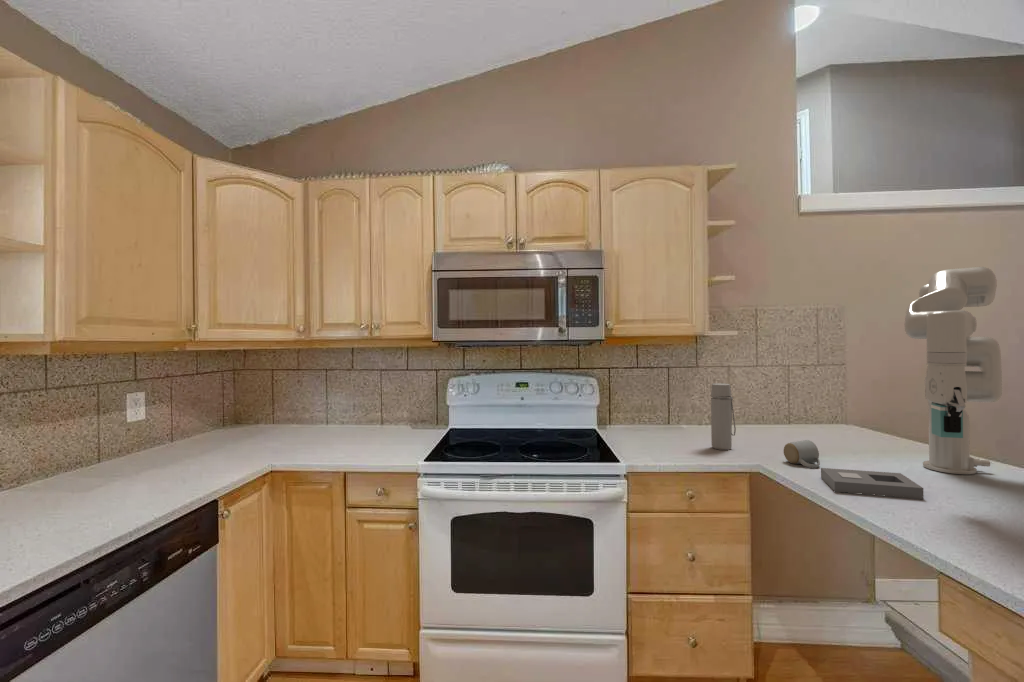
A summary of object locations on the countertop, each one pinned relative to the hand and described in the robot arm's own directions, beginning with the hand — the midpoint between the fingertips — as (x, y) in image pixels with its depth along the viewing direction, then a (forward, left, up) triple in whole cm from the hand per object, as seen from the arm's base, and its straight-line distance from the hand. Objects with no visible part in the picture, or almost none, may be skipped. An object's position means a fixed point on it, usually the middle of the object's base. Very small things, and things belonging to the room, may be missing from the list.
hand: (946, 429), depth 121 cm
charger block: (0, 0, -2) cm, 2 cm away
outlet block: (+14, -9, -19) cm, 26 cm away
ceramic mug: (+25, -32, -20) cm, 45 cm away
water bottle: (+49, -48, -19) cm, 71 cm away
